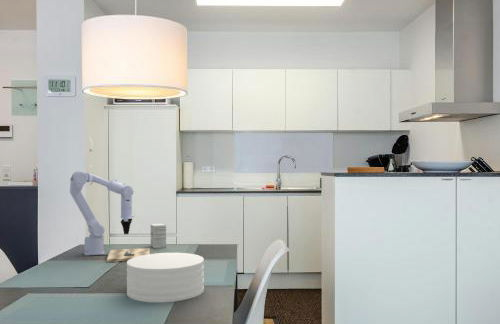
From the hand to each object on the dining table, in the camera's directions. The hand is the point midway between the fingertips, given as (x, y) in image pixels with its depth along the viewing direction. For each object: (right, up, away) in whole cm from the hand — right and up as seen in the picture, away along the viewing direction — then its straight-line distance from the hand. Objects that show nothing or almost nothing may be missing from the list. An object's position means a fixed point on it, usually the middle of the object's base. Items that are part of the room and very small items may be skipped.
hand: (126, 233), depth 244 cm
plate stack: (+36, -10, -77) cm, 85 cm away
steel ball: (+6, -8, -19) cm, 21 cm away
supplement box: (+15, -10, +11) cm, 21 cm away
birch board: (+6, -9, -15) cm, 19 cm away
